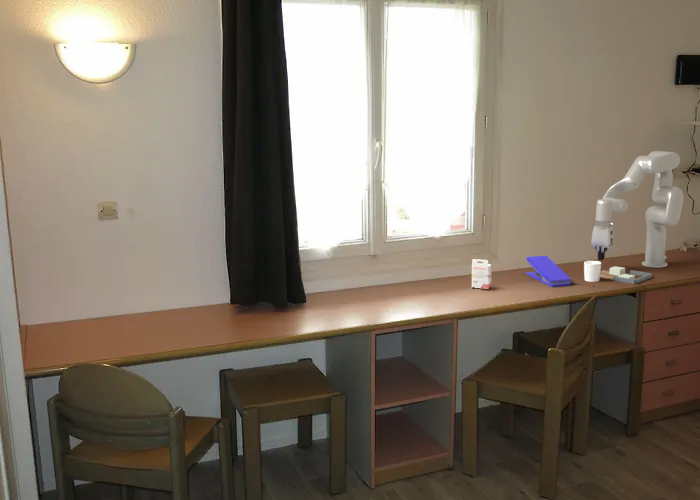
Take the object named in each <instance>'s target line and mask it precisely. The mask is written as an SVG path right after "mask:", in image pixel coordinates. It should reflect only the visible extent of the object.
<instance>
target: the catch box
mask: <svg viewBox="0 0 700 500" xmlns="http://www.w3.org/2000/svg"><path fill="white" fill-rule="evenodd" d="M629 275H634V276H640V277H637V278H635V280H633V279H627V278H622V277H616V276H613V280H612V281H615V282H621V283H626V284H634V285H636V284H639V283H642V282H644V281H647V280H649V279H651V278H653V275H654V273H651V272H645V271H639V270H634V269H633V270H632V269H630V270H629Z"/></svg>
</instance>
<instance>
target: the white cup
mask: <svg viewBox="0 0 700 500" xmlns="http://www.w3.org/2000/svg"><path fill="white" fill-rule="evenodd" d="M601 268H602V261H600V260H586V261H584V262H583V273H584V274H583V276H584V281H585V282H590V283H595V282H599V281H600V279H601V278H600V271H602V270H601Z"/></svg>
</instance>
